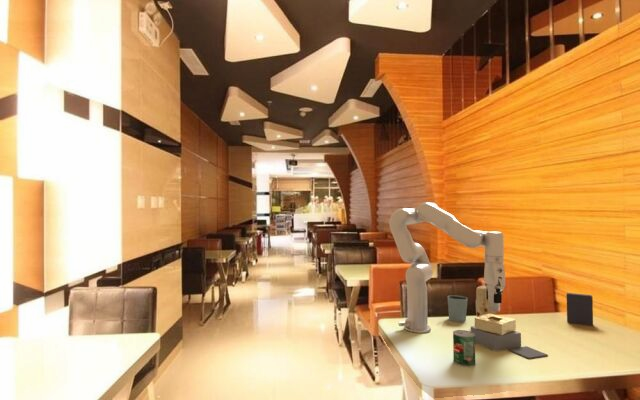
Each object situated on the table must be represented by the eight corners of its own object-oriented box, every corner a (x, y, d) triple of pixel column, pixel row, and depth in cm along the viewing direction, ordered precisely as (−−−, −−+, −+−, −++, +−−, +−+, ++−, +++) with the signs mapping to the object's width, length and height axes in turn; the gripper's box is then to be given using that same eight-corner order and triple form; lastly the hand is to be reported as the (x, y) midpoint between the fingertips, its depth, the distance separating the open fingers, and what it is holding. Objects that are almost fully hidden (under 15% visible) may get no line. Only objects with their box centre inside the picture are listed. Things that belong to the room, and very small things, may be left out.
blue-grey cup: (443, 318, 202) (443, 296, 203) (458, 316, 206) (457, 294, 207) (457, 323, 193) (457, 299, 193) (472, 321, 197) (471, 298, 197)
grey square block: (494, 351, 154) (494, 336, 154) (470, 340, 167) (470, 326, 167) (521, 347, 158) (520, 333, 158) (496, 337, 171) (495, 323, 172)
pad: (528, 359, 145) (528, 357, 145) (508, 350, 155) (508, 348, 155) (547, 356, 148) (547, 354, 148) (526, 347, 158) (526, 346, 158)
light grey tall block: (498, 311, 160) (497, 285, 161) (488, 310, 163) (487, 285, 163) (500, 309, 164) (499, 284, 164) (490, 308, 166) (489, 283, 166)
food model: (491, 324, 192) (491, 284, 192) (499, 328, 185) (498, 287, 186) (473, 324, 191) (473, 285, 192) (479, 328, 184) (479, 287, 185)
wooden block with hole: (501, 335, 154) (501, 324, 154) (474, 328, 164) (474, 317, 164) (517, 329, 163) (517, 318, 163) (490, 322, 172) (490, 312, 172)
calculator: (592, 324, 192) (591, 294, 193) (593, 326, 188) (592, 296, 189) (567, 320, 198) (566, 292, 199) (567, 322, 194) (566, 293, 195)
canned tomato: (480, 363, 140) (479, 334, 141) (466, 368, 136) (466, 337, 137) (461, 357, 147) (461, 328, 148) (448, 361, 143) (448, 332, 143)
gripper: (513, 262, 156) (513, 306, 155) (492, 257, 173) (491, 296, 172) (495, 262, 155) (495, 306, 155) (476, 257, 172) (476, 296, 172)
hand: (493, 300), depth 163 cm, fingers closed on light grey tall block, 5 cm apart
